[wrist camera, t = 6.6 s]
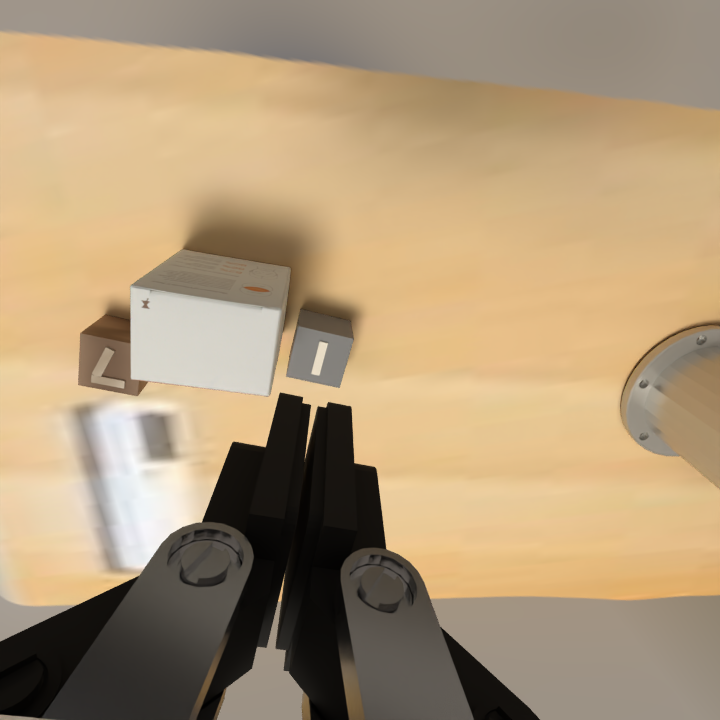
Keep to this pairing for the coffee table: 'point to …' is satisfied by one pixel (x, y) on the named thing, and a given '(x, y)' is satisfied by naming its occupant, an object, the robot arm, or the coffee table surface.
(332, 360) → the digit one block
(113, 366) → the digit seven block
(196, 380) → the small box
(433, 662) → the robot arm
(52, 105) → the coffee table surface
